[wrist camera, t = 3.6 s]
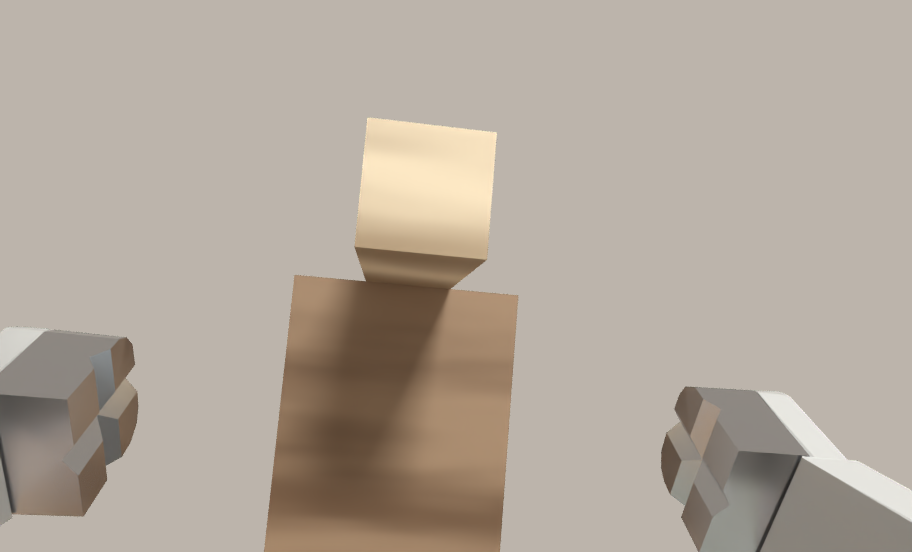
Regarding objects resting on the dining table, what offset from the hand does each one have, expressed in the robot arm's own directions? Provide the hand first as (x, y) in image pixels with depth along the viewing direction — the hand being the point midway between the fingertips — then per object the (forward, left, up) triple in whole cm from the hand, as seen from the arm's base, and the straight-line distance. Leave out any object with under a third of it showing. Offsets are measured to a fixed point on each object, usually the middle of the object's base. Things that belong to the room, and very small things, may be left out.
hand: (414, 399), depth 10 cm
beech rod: (-7, +13, +3) cm, 15 cm away
